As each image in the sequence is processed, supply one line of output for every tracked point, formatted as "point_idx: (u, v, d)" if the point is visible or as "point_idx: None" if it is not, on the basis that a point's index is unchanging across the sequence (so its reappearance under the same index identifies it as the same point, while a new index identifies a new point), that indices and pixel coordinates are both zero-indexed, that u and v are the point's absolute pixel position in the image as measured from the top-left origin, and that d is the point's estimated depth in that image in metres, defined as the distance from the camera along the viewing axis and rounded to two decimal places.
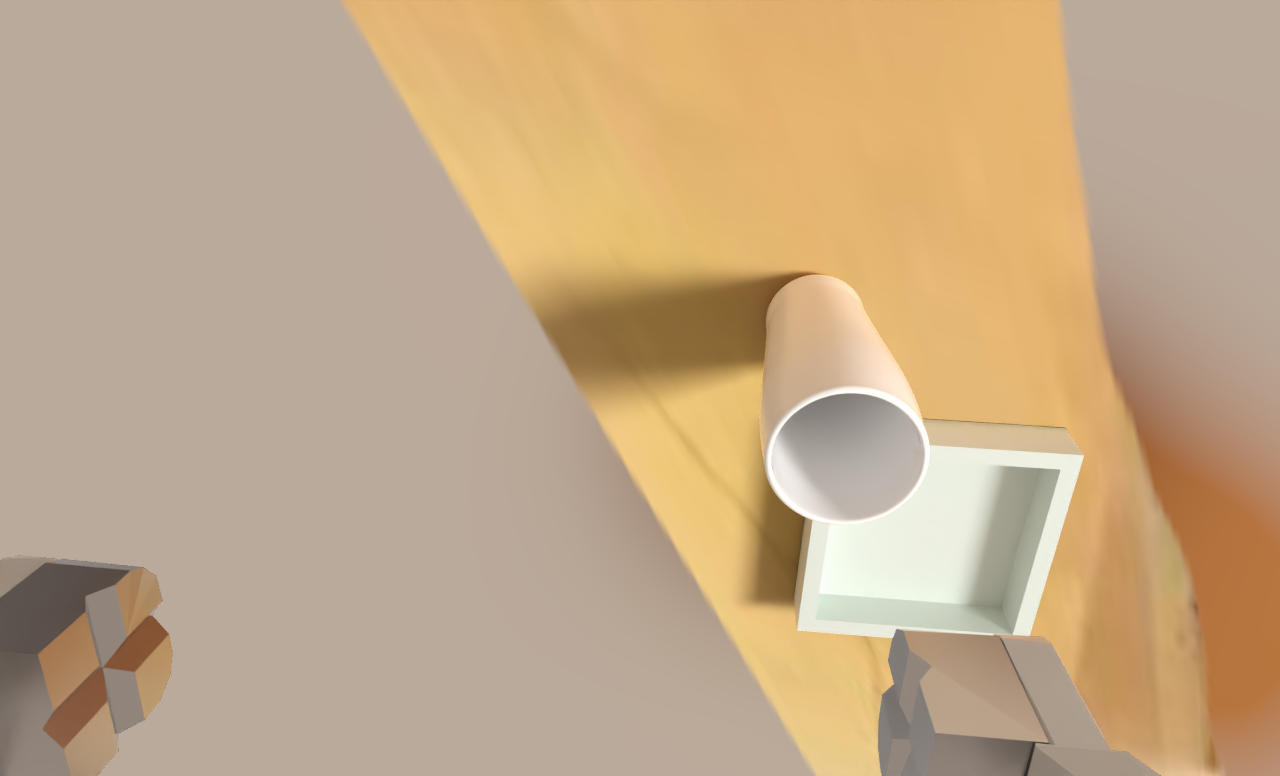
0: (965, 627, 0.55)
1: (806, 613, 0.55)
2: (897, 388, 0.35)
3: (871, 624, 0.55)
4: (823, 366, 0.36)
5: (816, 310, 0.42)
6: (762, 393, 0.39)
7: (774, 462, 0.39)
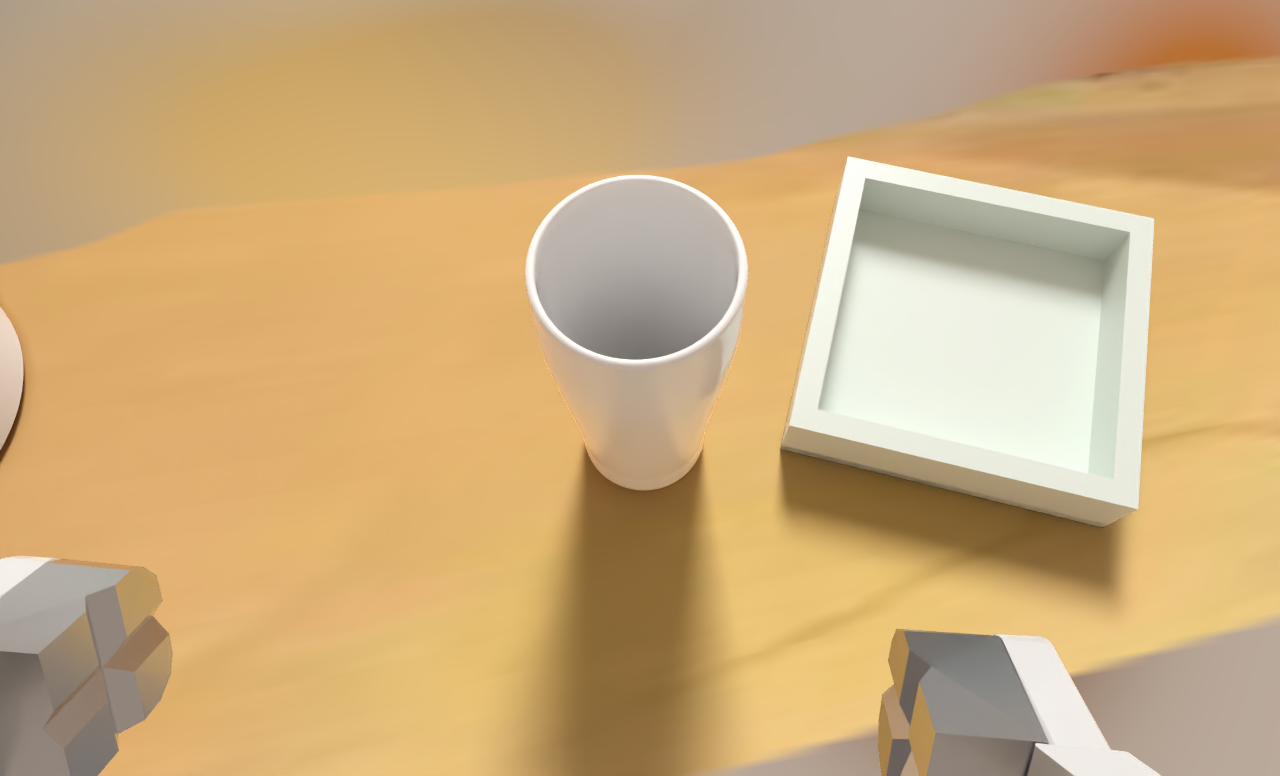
0: (1123, 287, 0.39)
1: (1101, 490, 0.35)
2: None
3: (1119, 402, 0.37)
4: None
5: None
6: (592, 411, 0.29)
7: None
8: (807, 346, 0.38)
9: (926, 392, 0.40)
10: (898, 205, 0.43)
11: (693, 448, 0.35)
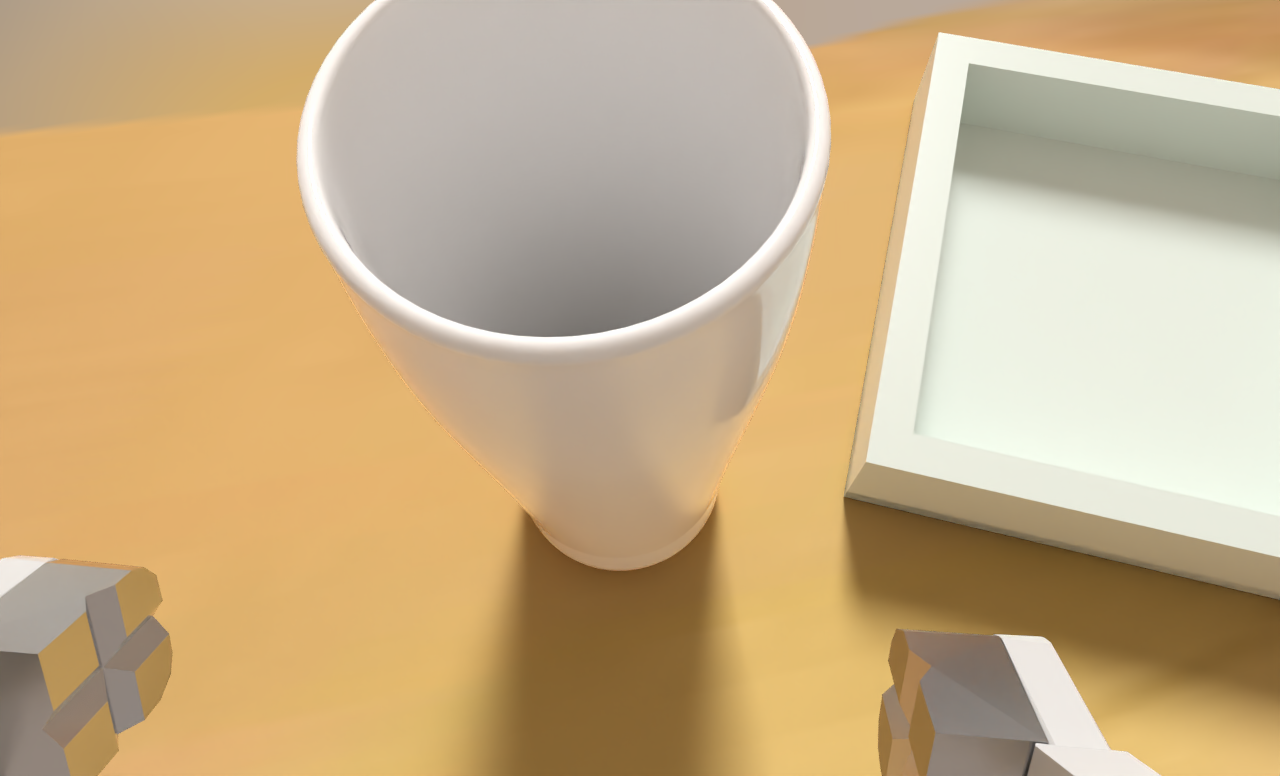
0: None
1: None
2: None
3: None
4: None
5: None
6: (487, 455, 0.13)
7: None
8: (890, 328, 0.23)
9: (1079, 402, 0.25)
10: (1016, 110, 0.27)
11: (702, 506, 0.20)
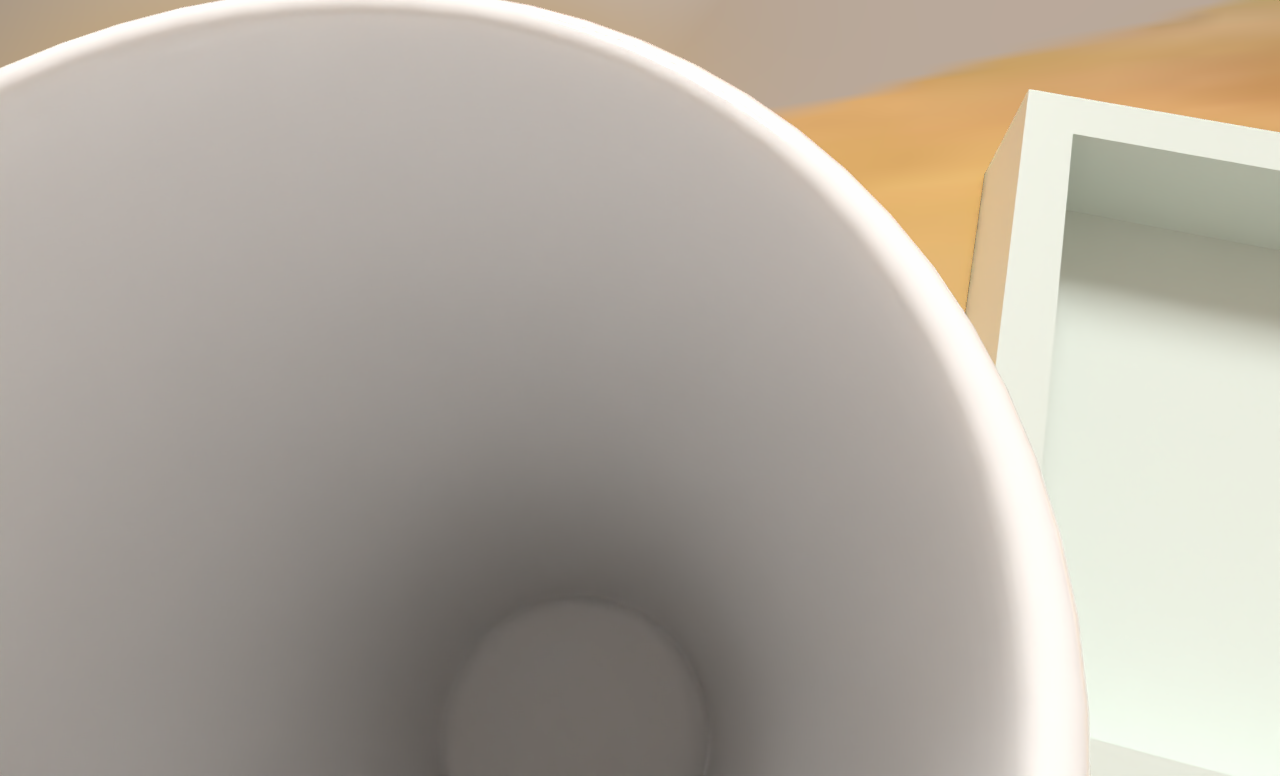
0: None
1: None
2: (17, 229, 0.05)
3: None
4: None
5: None
6: None
7: None
8: None
9: (1241, 627, 0.17)
10: (1133, 194, 0.20)
11: None
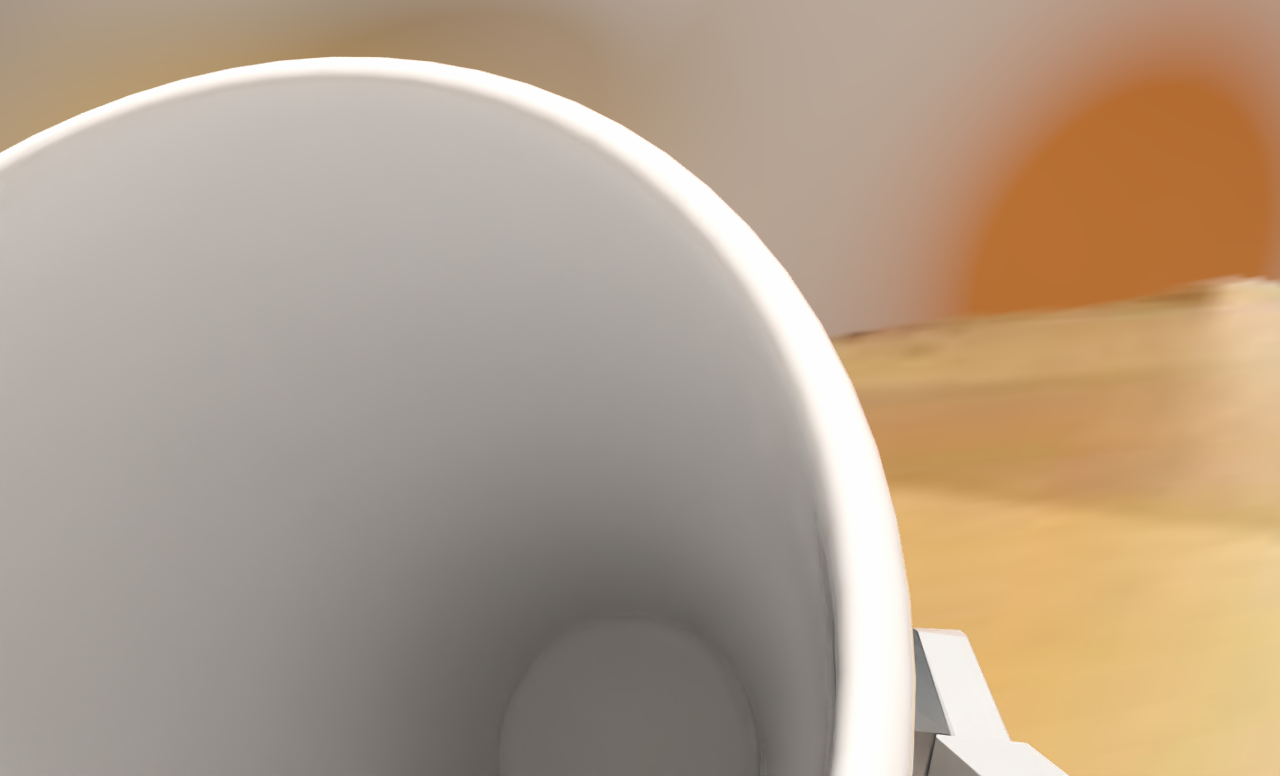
0: None
1: None
2: (24, 298, 0.06)
3: None
4: None
5: None
6: None
7: None
8: None
9: None
10: None
11: None
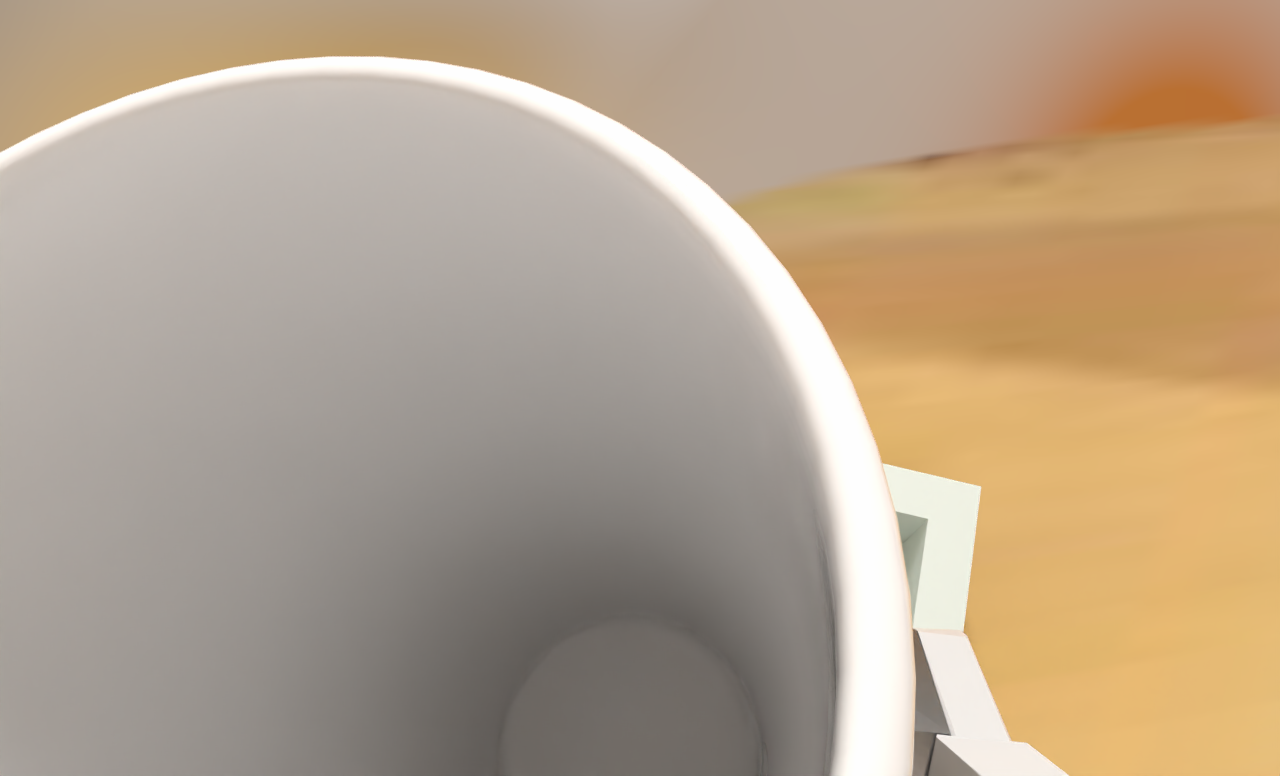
0: None
1: None
2: (24, 298, 0.06)
3: None
4: None
5: None
6: None
7: None
8: None
9: None
10: None
11: None
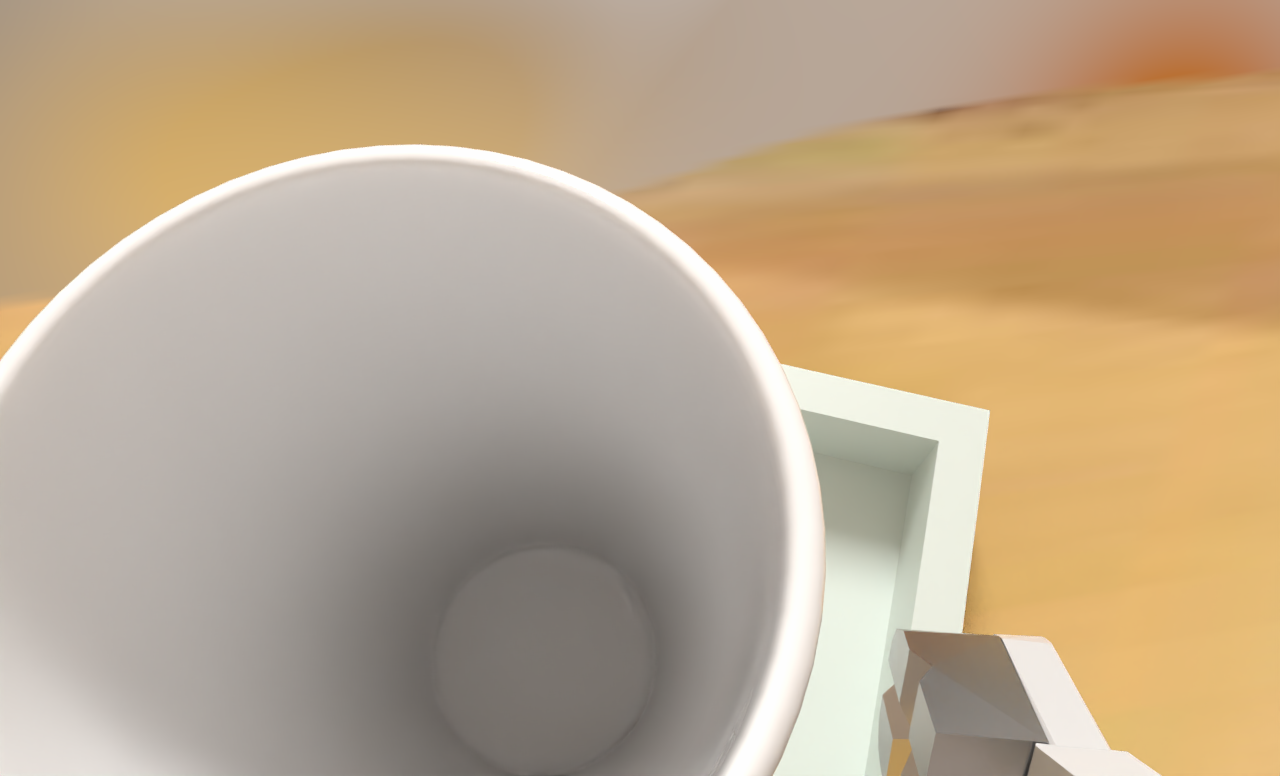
0: (917, 563, 0.19)
1: None
2: None
3: None
4: None
5: None
6: None
7: None
8: None
9: None
10: None
11: None
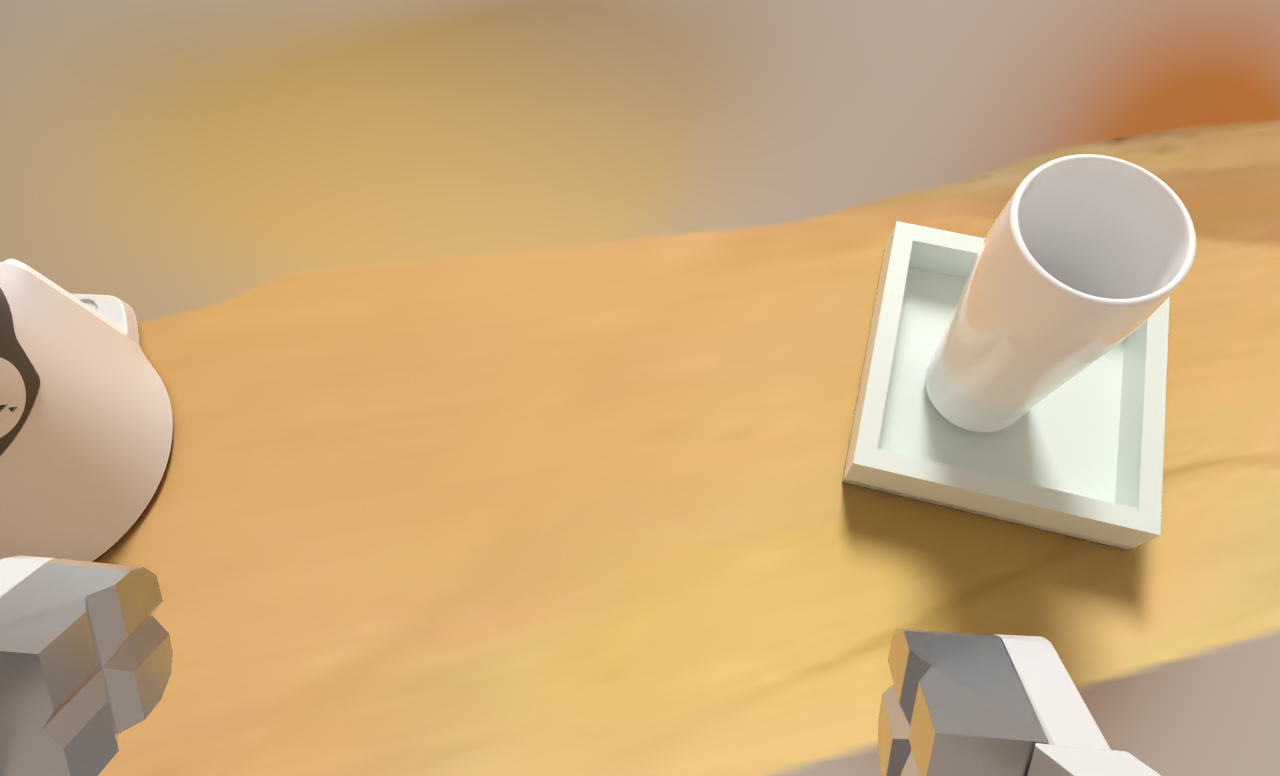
0: (1143, 337, 0.45)
1: (1128, 518, 0.41)
2: None
3: (1142, 440, 0.42)
4: (994, 264, 0.34)
5: (951, 336, 0.40)
6: (1037, 350, 0.35)
7: None
8: (866, 392, 0.43)
9: None
10: (941, 263, 0.48)
11: None
